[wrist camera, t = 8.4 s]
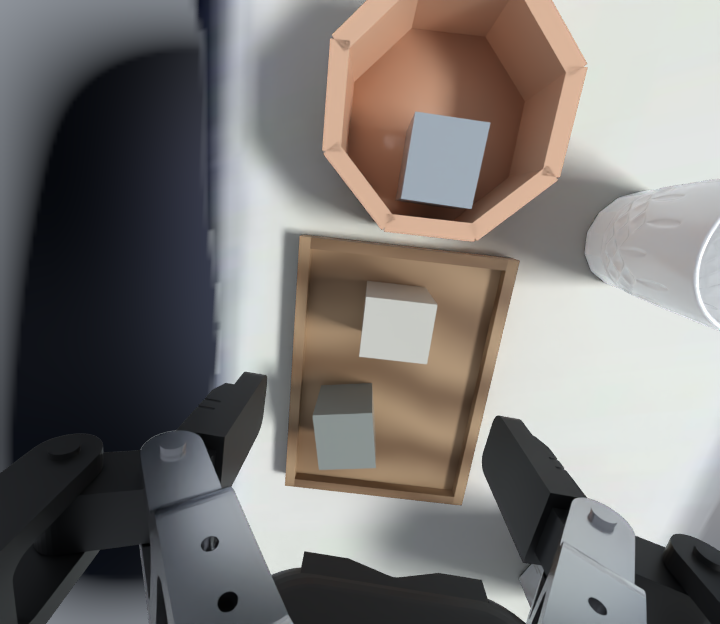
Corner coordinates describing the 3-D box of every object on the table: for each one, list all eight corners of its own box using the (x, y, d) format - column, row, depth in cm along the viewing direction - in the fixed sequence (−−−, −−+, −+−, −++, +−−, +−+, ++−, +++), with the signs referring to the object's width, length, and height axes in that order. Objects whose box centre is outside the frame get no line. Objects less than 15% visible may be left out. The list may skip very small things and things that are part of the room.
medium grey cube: (375, 431, 30) (375, 468, 26) (326, 433, 30) (318, 470, 26) (372, 382, 29) (372, 413, 25) (321, 385, 29) (312, 415, 25)
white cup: (559, 283, 27) (665, 325, 17) (598, 173, 24) (745, 150, 15) (660, 301, 27) (822, 354, 17) (708, 194, 25) (924, 185, 15)
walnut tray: (457, 493, 32) (461, 505, 31) (288, 474, 32) (285, 485, 31) (512, 258, 26) (519, 260, 25) (303, 234, 26) (299, 235, 25)
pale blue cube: (451, 208, 25) (471, 209, 20) (395, 200, 25) (401, 198, 20) (466, 140, 23) (490, 122, 19) (406, 131, 23) (415, 111, 18)
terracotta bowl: (505, 240, 26) (541, 249, 20) (328, 220, 26) (316, 223, 20) (551, 31, 22) (611, -28, 17) (345, 8, 22) (337, -59, 17)
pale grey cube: (417, 337, 28) (426, 364, 23) (361, 330, 28) (359, 356, 23) (425, 287, 26) (437, 304, 22) (367, 280, 26) (366, 296, 22)
